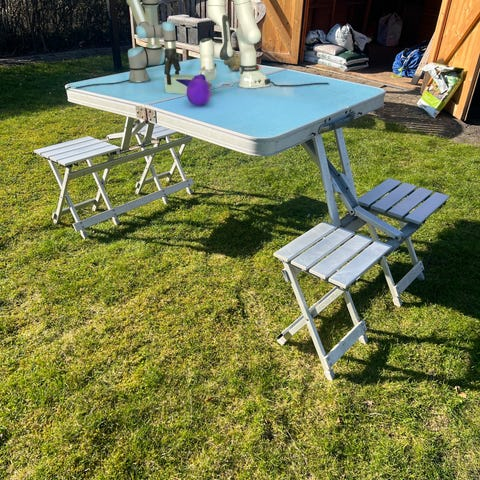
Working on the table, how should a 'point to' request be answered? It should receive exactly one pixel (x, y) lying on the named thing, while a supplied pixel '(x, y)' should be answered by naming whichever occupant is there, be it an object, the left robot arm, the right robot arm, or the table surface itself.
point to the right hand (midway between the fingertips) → (208, 87)
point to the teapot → (233, 62)
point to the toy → (197, 90)
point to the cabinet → (177, 84)
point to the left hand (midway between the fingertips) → (173, 82)
